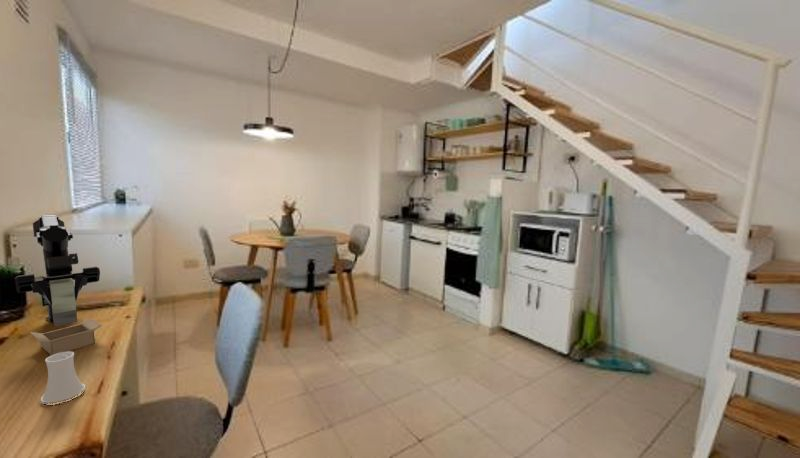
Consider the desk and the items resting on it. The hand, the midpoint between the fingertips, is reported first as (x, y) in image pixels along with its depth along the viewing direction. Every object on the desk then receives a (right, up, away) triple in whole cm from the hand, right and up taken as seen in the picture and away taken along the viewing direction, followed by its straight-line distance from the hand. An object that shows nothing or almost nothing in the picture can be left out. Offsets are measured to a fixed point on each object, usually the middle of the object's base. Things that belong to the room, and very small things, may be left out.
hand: (63, 302), depth 105 cm
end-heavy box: (-1, -7, +2) cm, 7 cm away
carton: (+1, -13, +1) cm, 13 cm away
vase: (+23, -18, -23) cm, 37 cm away
